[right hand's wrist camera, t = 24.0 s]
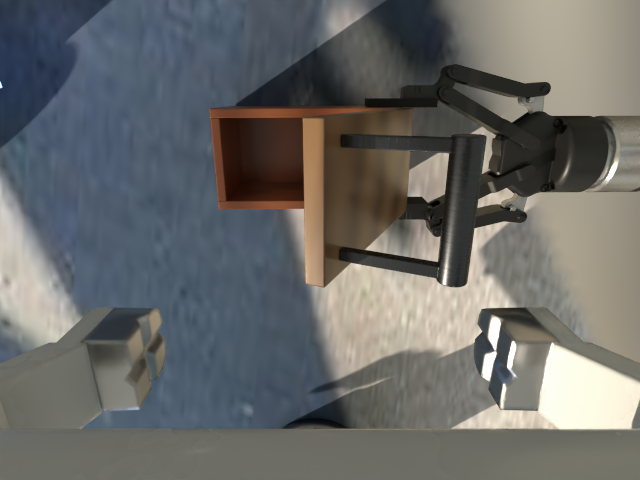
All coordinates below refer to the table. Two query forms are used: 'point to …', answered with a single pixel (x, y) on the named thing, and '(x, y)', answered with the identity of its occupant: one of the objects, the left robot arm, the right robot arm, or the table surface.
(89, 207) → the table surface
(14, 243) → the table surface
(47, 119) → the table surface
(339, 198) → the lid
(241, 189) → the chest
